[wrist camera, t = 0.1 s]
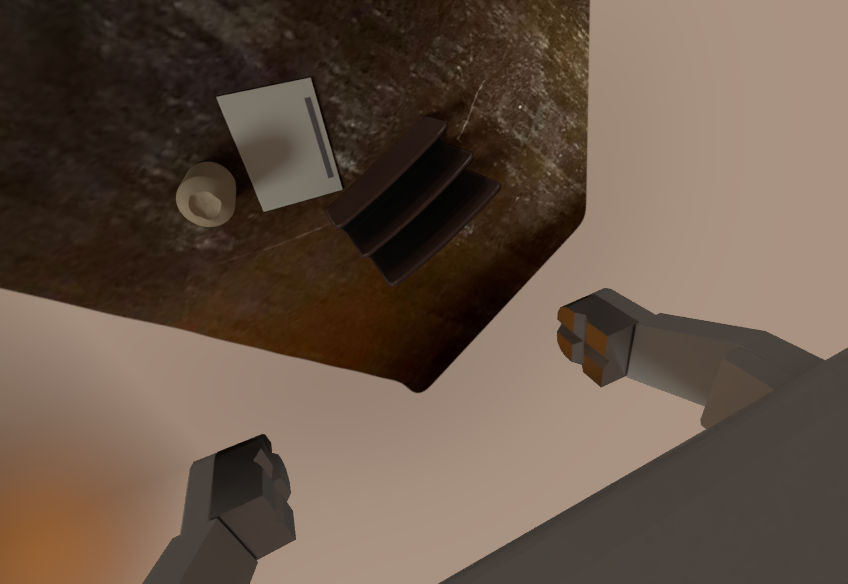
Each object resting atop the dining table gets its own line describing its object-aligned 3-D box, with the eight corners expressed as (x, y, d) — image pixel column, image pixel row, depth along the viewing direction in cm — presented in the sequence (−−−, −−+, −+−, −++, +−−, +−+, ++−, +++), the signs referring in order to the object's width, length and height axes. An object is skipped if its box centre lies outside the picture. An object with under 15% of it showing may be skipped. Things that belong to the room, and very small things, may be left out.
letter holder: (460, 168, 60) (510, 190, 49) (368, 254, 61) (396, 296, 49) (424, 114, 54) (472, 125, 43) (323, 210, 55) (343, 246, 43)
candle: (229, 158, 47) (226, 176, 39) (241, 202, 50) (240, 226, 42) (179, 163, 46) (165, 182, 37) (194, 208, 48) (184, 235, 40)
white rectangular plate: (216, 96, 44) (216, 97, 44) (310, 77, 47) (310, 77, 46) (263, 211, 52) (263, 212, 51) (342, 189, 54) (342, 189, 54)
